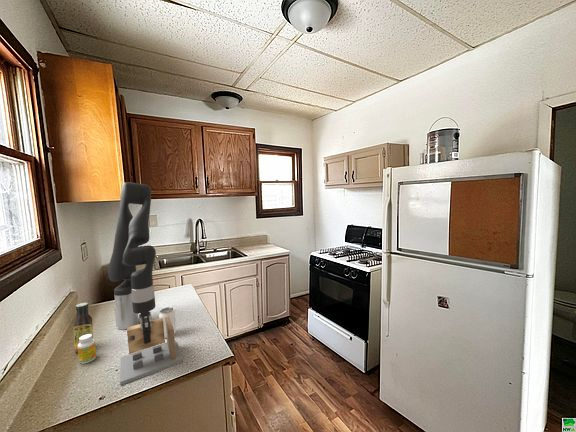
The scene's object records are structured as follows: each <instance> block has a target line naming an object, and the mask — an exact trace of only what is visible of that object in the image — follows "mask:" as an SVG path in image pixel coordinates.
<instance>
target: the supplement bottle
mask: <svg viewBox="0 0 576 432" xmlns="http://www.w3.org/2000/svg"><path fill="white" fill-rule="evenodd" d="M79 342H80V343H79V344H78V353H77V355H78V363H80V365H81V364H82V365H84V364H88V363H90V362H92V361H94V360H95V359H96V358H97V349H96V348H97V347H96V340H95V338H93V339H92V334H86V335H83V336H81V337H80V338H79Z"/></svg>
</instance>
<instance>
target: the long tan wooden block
mask: <svg viewBox="0 0 576 432" xmlns="http://www.w3.org/2000/svg"><path fill="white" fill-rule="evenodd" d="M126 332H127V334H126V335H127V345H128V347H127V348H128V355H129V354H132V353H135V352H138V351H141V350H144V349H147V348H150V347H154V346H157V345H160V344H163V343H166V340H165V339H166V338H165V336H164V323H163V318H160V319H159V318H157V319H152V320H151V334H150V337H151V342H150V343H147V344H144V336H143V329H141V324H139V323H138V324H137V325H135V326H131V327H127V329H126Z"/></svg>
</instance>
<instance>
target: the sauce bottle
mask: <svg viewBox="0 0 576 432" xmlns="http://www.w3.org/2000/svg"><path fill="white" fill-rule="evenodd" d="M75 311H76V316H75V317H74V320H73V341H74V343H73V344H74V351H75V353H76V354H78V344H79V343H80V342H79V338H80V337H81V336H83V335H86V334H92V339H94V331H93V329H94V328H93V327H94V326H93V317H92V316H91V315H90V313H89V303H88V302H81V303H78V304H76V305H75Z"/></svg>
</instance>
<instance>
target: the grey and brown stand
mask: <svg viewBox="0 0 576 432" xmlns="http://www.w3.org/2000/svg"><path fill="white" fill-rule="evenodd" d="M165 322H166V335H167V338H166V341H165V343H162V344H159V345H156V346H153V347H150V348H147V349H144V350H141V351H138V352H135V353H132V354H129V353H128V354H126V355H123V356H121V357H120V379H119V380H120V382H119V383H120V386H122V385H125V384H128V383H130V382H133V381H136V380H138V379H141V378H143V377H146V376H150V375H151V374H154V373H157V372H160V371H162V370H165V369H168V368H170V367H173V366H175V365H178V364H181V363H183V357H182V355H181V354H182V353H181V351H180V349H179V346H178V343H177V340H176V339H175V335H174V328H173V326H172V323H171V320H170V318H169V317H166V318H165Z"/></svg>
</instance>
